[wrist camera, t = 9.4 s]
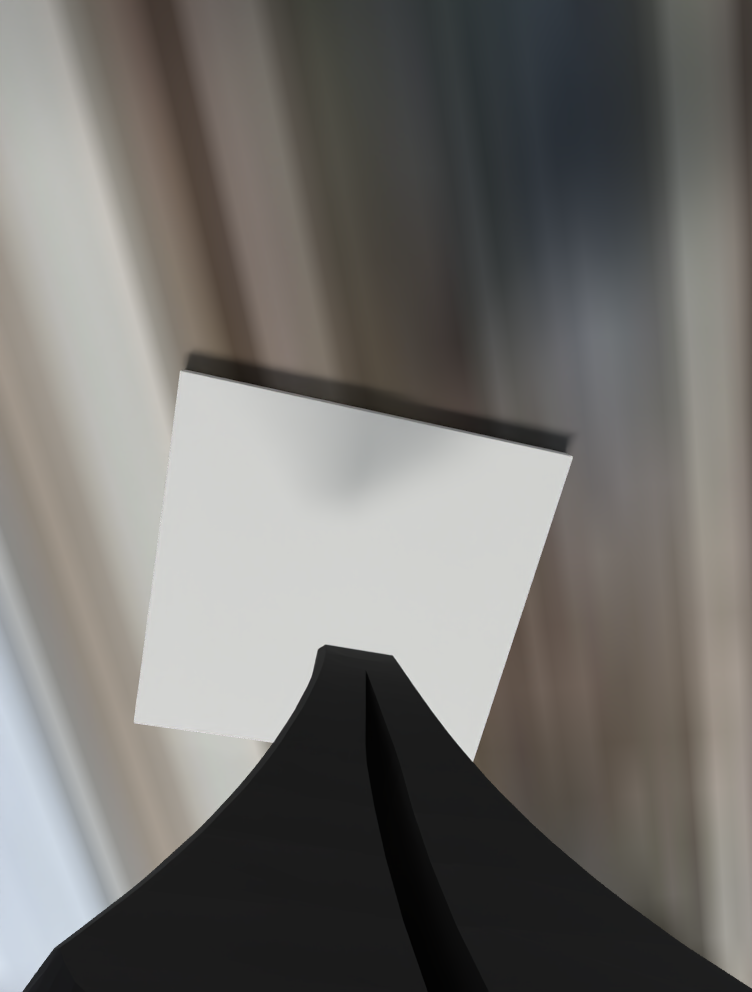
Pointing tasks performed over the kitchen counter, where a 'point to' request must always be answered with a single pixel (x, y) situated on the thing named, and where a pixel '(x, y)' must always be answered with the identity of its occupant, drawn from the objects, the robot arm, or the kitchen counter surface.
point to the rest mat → (334, 556)
